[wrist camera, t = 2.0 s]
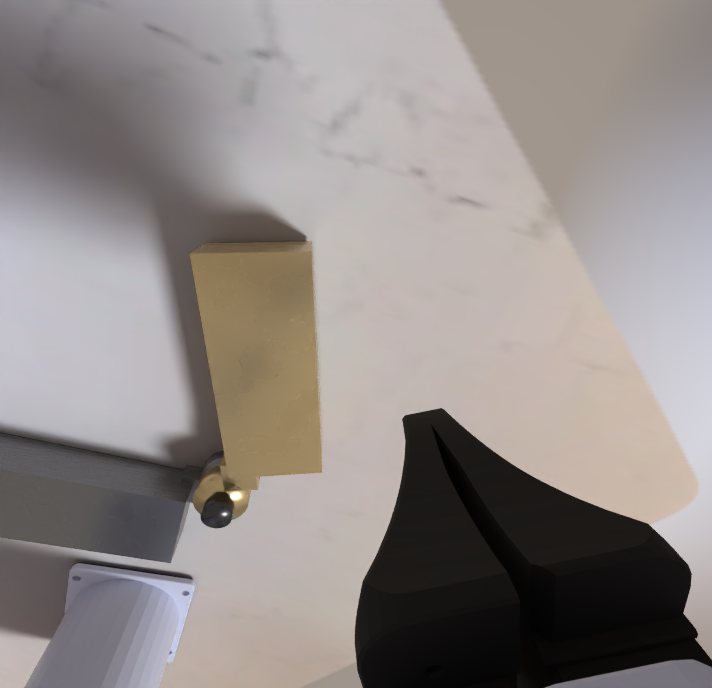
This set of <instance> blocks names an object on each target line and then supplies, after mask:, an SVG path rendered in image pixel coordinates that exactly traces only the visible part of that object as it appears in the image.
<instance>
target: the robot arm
mask: <svg viewBox="0 0 712 688" xmlns="http://www.w3.org/2000/svg"><path fill="white" fill-rule="evenodd" d="M402 420H403V427H404V433H405V440H406V444H405V459H404V467H403V473H402V479H401V484H400V489H399V493H398V497H397V501H396V505H395V508H394V511H393V514H392V518H391V521H390V523H389V526H388V529H387V531H386V534H385V536H384V539H383V541H382V543H381V546H380V548H379V551H378V553H377V555H376V557H375V559H374V561H373V563H372V565H371V567H370V569H369V571H368V572H367V574H366V576H365V578H364V580H363V584H362V588H361V593H360V598H359V604H358V609H357V616H356V625H355V649H356V659H357V670H358V674H359V677H360V680H361V683H362V686H363V688H712V660H711V659H710V657H709V656H708V655H707V654H706V652H705V651H704V650H703V649H702V647H701V646H700V645H699V644H698V642H697V641H696V640H695V638H697V636H698V633H697V631H696V629H695V628H694V626H693V625H692V624H691V622H690V621H689V620H688V619H687V618H686V617H685V615H684V614H683V612H684V608H685V605H686V601H687V598H688V594H689V590H690V586H691V575H692V574H691V571H690V568H689V566H688V564H687V563H686V562H685V561H684V560H683V559H682V558H681V557H680V556H679V554H678V553H677V552H676V551H675V550H674V549H673V548H672V547H671V546H670V545H669V544H668V543H667V542H666V540H665V539H664V538H662V537H661V536H660V535H659V534H658V533H657V532H656V531H655V530H654V529H653V528H652V527H651V526H650V525H649V524H647V523H644V522H641V521H638V520H635V519H632V518H629V517H626V516H623V515H620V514H617V513H614V512H611V511H608V510H605V509H603V508H600V507H598V506H595V505H593V504H590V503H588V502H585V501H583V500H580V499H578V498H575V497H573V496H571V495H569V494H566V493H564V492H562V491H560V490H558V489H556V488H554V487H552V486H550V485H548V484H546V483H544V482H542V481H540V480H538V479H536V478H534V477H532V476H531V475H529V474H527V473H526V472H524V471H522V470H520V469H519V468H517V467H516V466H514V465H512V464H511V463H509V462H508V461H506V460H505V459H503V458H502V457H501V456H499V455H498V454H496V453H495V452H494V451H492V450H491V449H489V448H488V447H487V446H486V445H484V444H483V443H482V442H480V441H479V440H478V439H477V438H475V437H474V436H473V435H472V434H471V433H469V432H468V431H467V430H466V429H465V428H464V427H462V426H461V425H460V424H459V423H458V422H457V421H456V420H455V419H453V418H452V417H451V416H450V415H449V414H448V413H447V412H446V411H445V410H444V409H442V408H440V409H435V410H430V411H425V412H420V413H415V414H410V415H405V416H404V418H403V419H402ZM195 585H196V583H195V581H193V580H191V579H186V578H179V577H172V576H165V575H158V574H151V573H144V572H138V571H131V570H124V569H117V568H110V567H103V566H96V565H89V564H82V563H77V564H74V565H73V566H72V568H71V569H70V571H69V578H68V587H67V595H66V603H65V612H64V618H63V619H62V621H61V623H60V625H59V627H58V628H57V630H56V632H55V634H54V635H53V637H52V639H51V641H50V643H49V644H48V646H47V648H46V650H45V652H44V653H43V655H42V657H41V659H40V660H39V662H38V664H37V666H36V668H35V669H34V671H33V673H32V675H31V676H30V678H29V680H28V682H27V684H26V685H25V687H24V688H159V685H160V682H161V679H162V675H163V672H164V669H165V665H166V663H170V662H172V661H173V659H174V656H175V653H176V649H177V646H178V642H179V639H180V636H181V632H182V629H183V626H184V622H185V619H186V616H187V612H188V609H189V606H190V602H191V599H192V595H193V592H194V589H195Z"/></svg>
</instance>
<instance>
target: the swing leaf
mask: <svg viewBox="0 0 712 688" xmlns="http://www.w3.org/2000/svg"><path fill="white" fill-rule="evenodd" d="M190 259H191V265H192V270H193V276H194V282H195V288H196V294H197V299H198V305H199V311H200V317H201V322H202V328H203V334H204V340H205V345H206V351H207V357H208V363H209V369H210V374H211V380H212V386H213V392H214V397H215V403H216V409H217V415H218V420H219V426H220V432H221V438H222V443H223V449H224V455H223V458H222V461H221V464H220V466H216V467H213V468H210V469H208V470H207V471H205V472H204V473H203V474H202V476H201V477H200V479H199V482H198V485H197V487H196V490H195V493H194V495H193V504H194V507H195V509H196V510H197V511H198V512H199V513H200V514H201V513H202V510H203V507H204V504H205V501H206V500H207V499H208V498H209V497H211V496H213V495H225V496H227V497H229V498H230V499H232V501H233V502H234V511H233V515H232V519H235V518H237V517H239V516H241V515H242V514H243V513H244V512H245V510H246V509H247V506H248V502H249V497H250V492H251V490H257V489H258V485H259V480H260V476H274V475H290V474H306V473H322V443H321V421H320V399H319V377H318V356H317V334H316V312H315V291H314V269H313V247H312V241H305V242H246V243H204V244H203V245H201V246H200V247H198V248H197V249H196V250H194V251H193V252H191V253H190ZM232 519H231V520H232Z"/></svg>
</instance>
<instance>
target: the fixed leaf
mask: <svg viewBox="0 0 712 688" xmlns="http://www.w3.org/2000/svg"><path fill="white" fill-rule="evenodd" d="M223 455H224V451H221V452H218V453H215V454H213V455H212V456H211V457H210V458H209V459H208V460H207V461H206V464H205V466H204V469H203V468H198V467H193V466H188V465H187V467H186V469H185V470H182V469H177V468H172V467H167V466H162V465H157V464H152V463H147V462H142V461H137V460H132V459H127V458H123V457H118V456H113V455H108V454H103V453H98V452H93V451H88V450H83V449H78V448H73V447H68V446H63V445H58V444H53V443H48V442H43V441H38V440H33V439H29V438H24V437H19V436H14V435H9V434H4V433H0V537H2V538H8V539H15V540H22V541H28V542H35V543H41V544H48V545H54V546H61V547H68V548H74V549H81V550H87V551H94V552H101V553H107V554H114V555H120V556H127V557H133V558H140V559H147V560H153V561H160V562H166V563H171V560H172V558H173V555H174V552H175V550H176V547H177V544H178V541H179V539H180V536H181V533H182V531H183V527H184V523H185V519H186V516H187V512H188V508H189V504H190V502H192V503H193V495H194V493H195V490H196V487H197V485H198V482H199V479H200V477H201V476H202V474H203V473H204V472H205V471H207V470H208V469H210V468H213V467H216V466H220V464H221V461H222V458H223ZM233 511H234V502H233V501H232V499H230V498H229V497H227V496H225V495H213V496H211V497H209V498H208V499H207V500H206V501H205V504H204V507H203V510H202V513H201V520H202V522H203V523H204V524H205V525H207V526H209V527H211V528H222V527H225V526H227V525H228V524H229V523H230V522H231V519H232V515H233Z"/></svg>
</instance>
